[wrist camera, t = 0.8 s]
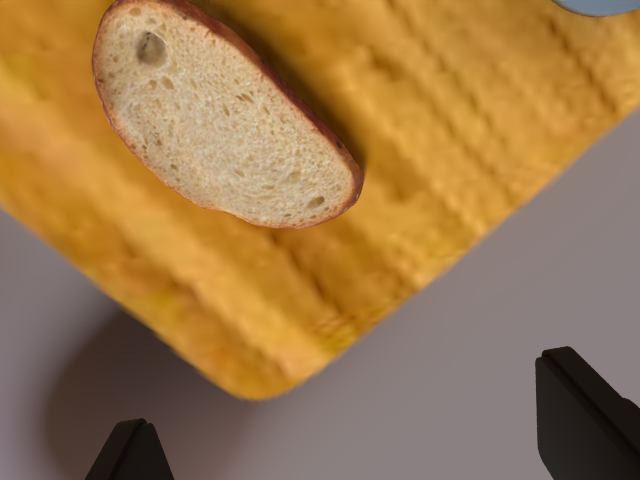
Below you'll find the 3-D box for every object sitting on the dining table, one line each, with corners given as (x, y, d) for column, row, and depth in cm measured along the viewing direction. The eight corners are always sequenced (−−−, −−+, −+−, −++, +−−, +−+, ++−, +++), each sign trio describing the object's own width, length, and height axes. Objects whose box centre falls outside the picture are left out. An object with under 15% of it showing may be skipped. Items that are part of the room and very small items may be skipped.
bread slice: (367, 215, 36) (374, 229, 32) (149, 248, 36) (132, 265, 33) (337, -38, 30) (341, -55, 27) (79, 6, 31) (49, -5, 27)
